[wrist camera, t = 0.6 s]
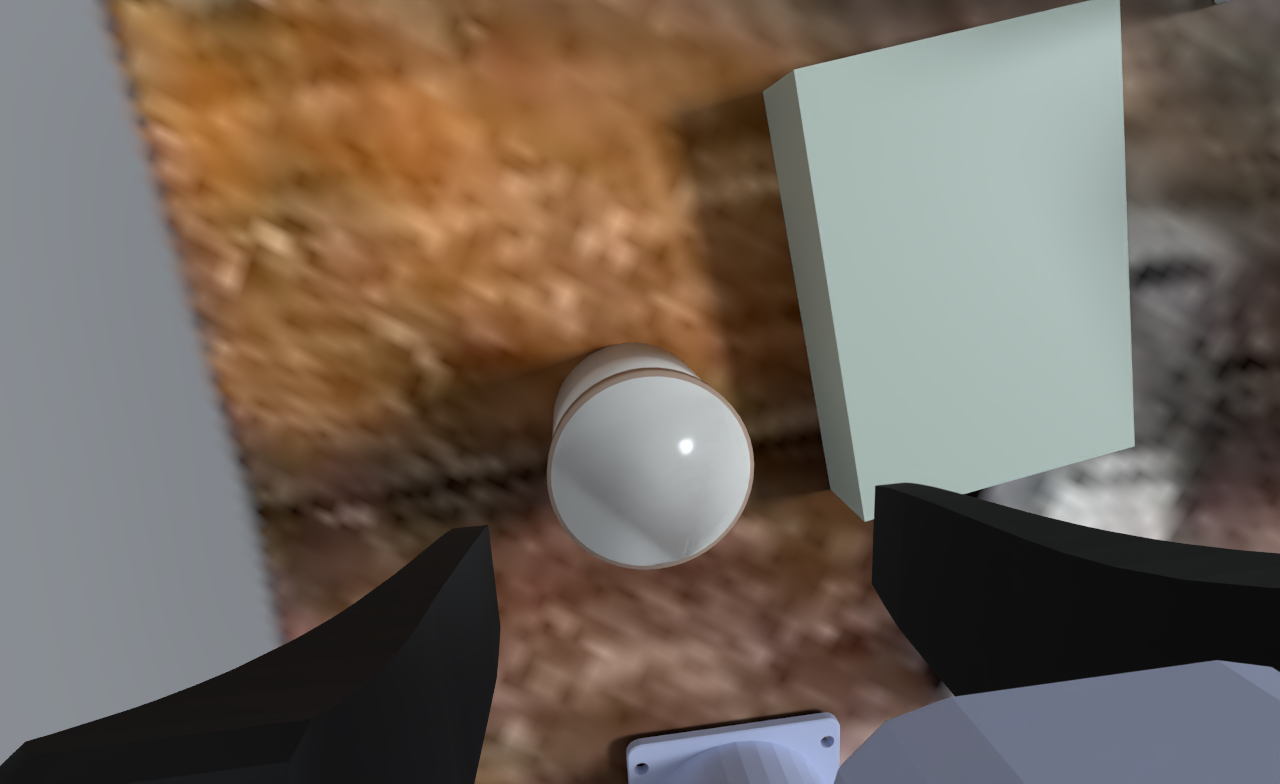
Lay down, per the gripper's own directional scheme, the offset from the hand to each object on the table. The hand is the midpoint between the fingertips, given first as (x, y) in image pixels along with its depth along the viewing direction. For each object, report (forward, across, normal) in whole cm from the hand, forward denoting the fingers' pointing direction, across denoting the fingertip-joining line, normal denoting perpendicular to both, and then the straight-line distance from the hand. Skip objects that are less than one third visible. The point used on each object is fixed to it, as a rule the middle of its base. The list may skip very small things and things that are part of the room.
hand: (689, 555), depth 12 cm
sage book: (+10, -10, -4) cm, 15 cm away
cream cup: (+9, 0, 0) cm, 9 cm away
